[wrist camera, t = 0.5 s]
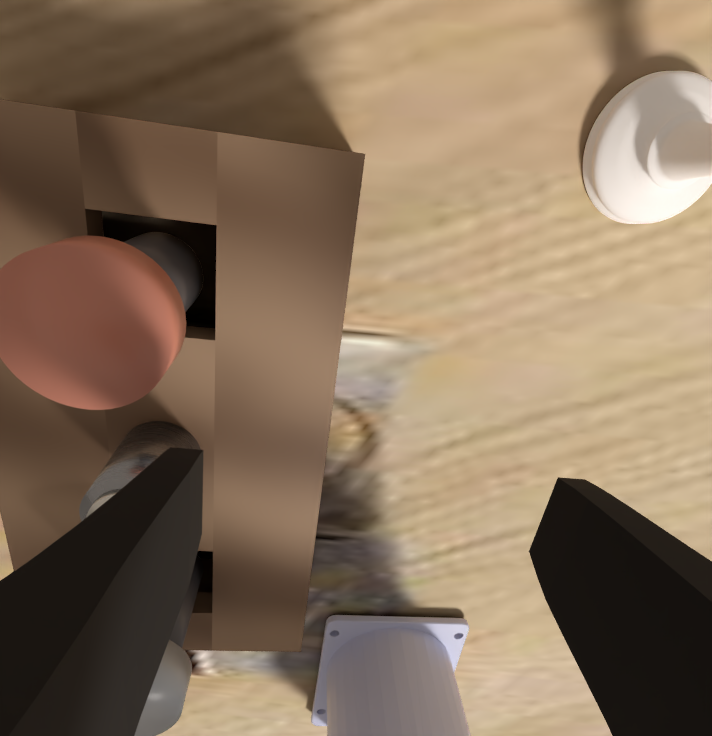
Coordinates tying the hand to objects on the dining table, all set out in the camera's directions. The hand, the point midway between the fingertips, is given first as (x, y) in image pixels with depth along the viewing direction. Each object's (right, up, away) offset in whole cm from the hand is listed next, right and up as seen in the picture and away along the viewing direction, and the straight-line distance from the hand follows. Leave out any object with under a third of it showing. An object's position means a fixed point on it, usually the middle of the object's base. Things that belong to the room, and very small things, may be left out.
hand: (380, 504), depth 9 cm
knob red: (-6, +6, +4) cm, 10 cm away
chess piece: (+10, +11, +7) cm, 16 cm away
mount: (-7, +2, +10) cm, 12 cm away
